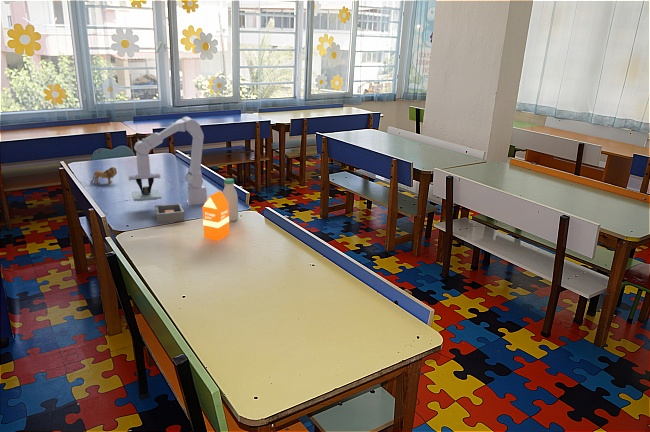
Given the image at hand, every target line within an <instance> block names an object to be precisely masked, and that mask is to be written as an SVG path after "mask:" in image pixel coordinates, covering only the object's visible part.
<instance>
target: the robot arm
mask: <svg viewBox="0 0 650 432" xmlns="http://www.w3.org/2000/svg"><path fill="white" fill-rule="evenodd" d="M186 131H187V132H188V134H190V135H191V137H192V142H191V154H190V161H189V162H190V163H189V168H188V169H187V173H186V175H185V182H187V186H186V187H187V200H186V202H187V204H188V205H189V206H191V205H192V206H193V205H204V204H205V203H206V201H207V200H208V193H207V187H206V185H203V184H204V179H203V176H202V175H203V174H202V170H201V167H202V158H203V146H204V138H205V136H204V132H203V130H202V128H201V126H200V123H199V122H198V121H197V120H195V119H193V118H191V117H189V116H183V117H182V118H179V119H177V120H176V121H175V122H174V123H172V124H171V125H170V126H168V127H166V128H164V129H163V130H162V131H160V132H156V131H155V132H151V133H150V135H148V136H146V137H145V138H144V137H143V138H142V139H141V140H138V141H137V142H135V144H134V146H133V149H134V151H135V155H136V159H135V160H136V166H137V174H132V175H131V174H129V175H128V181H129V182H130V181H134V180H135V182H136V183H137V186H138V187H139V190H140V191H141V193H142V194H143V182H142V180H147V184H148V187H149V193H151V190H152V187H153V184H154V181H155V179H161V174H160V173H151V162H150V156H149V153H150V151H151V150H152V149H154V148H156V147H157V146H159V145H161V144H163V141H164V139H166V138H168V137H169V136H172V135H173V134H176V133H177V132H184V133H185V132H186Z"/></svg>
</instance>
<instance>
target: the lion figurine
mask: <svg viewBox="0 0 650 432" xmlns="http://www.w3.org/2000/svg"><path fill="white" fill-rule="evenodd" d="M117 173H118V171H117V168H116V167H115V166H112V167H110V168H108V169H106V170H105V171H100V170H96V171H94V173H93V177H92V179H91V181H90V183H93V181H94V183H97V184H101V182H100V181H99V178H102V179H107V182H108V184H112V180H111V179H112V178H113V179H114V177H115V176H116V175H117Z"/></svg>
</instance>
